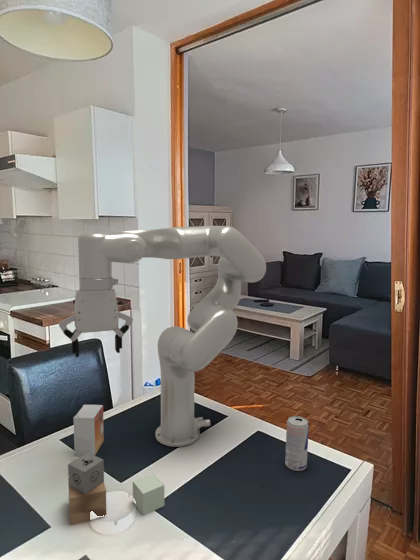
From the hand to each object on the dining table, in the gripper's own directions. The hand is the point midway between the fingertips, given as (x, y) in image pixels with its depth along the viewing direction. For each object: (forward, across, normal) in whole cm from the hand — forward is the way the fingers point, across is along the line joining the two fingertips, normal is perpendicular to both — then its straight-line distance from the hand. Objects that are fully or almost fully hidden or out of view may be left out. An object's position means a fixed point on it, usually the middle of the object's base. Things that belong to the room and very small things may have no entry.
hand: (97, 353), depth 98 cm
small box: (+29, +2, -7) cm, 30 cm away
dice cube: (+23, +4, +17) cm, 29 cm away
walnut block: (+28, +4, +17) cm, 34 cm away
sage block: (+28, -8, +20) cm, 36 cm away
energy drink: (+28, -46, +19) cm, 57 cm away
